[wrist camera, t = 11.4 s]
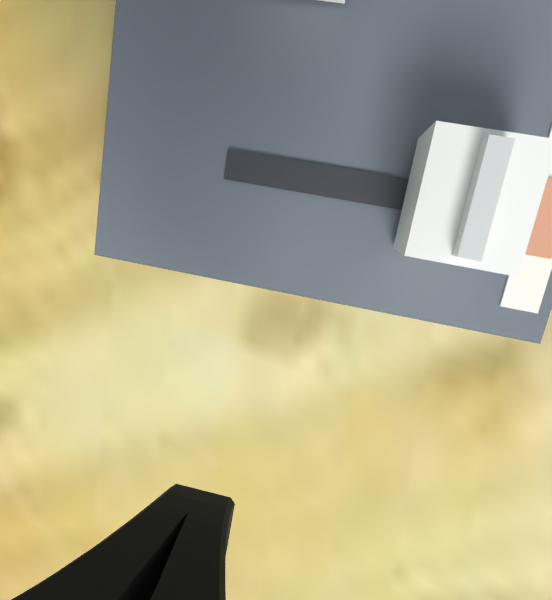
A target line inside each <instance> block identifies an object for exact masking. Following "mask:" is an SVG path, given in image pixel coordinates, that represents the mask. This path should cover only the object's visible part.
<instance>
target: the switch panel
mask: <svg viewBox="0 0 552 600" xmlns="http://www.w3.org/2000/svg"><path fill="white" fill-rule="evenodd" d="M436 121H441V122H448V123H454V124H461V125H468V126H474V127H481V128H487V129H494V130H500V131H507V132H514V133H520V134H527V135H533V136H540V137H546V138H552V0H345V4H343V3H335V2H327V1H319V0H116V9H115V20H114V32H113V44H112V55H111V67H110V79H109V91H108V102H107V114H106V126H105V137H104V149H103V161H102V172H101V184H100V196H99V207H98V219H97V231H96V243H95V254H94V255H98V256H103V257H108V258H113V259H118V260H123V261H128V262H133V263H138V264H143V265H148V266H153V267H158V268H163V269H168V270H173V271H178V272H183V273H188V274H193V275H198V276H203V277H208V278H213V279H218V280H223V281H228V282H233V283H238V284H243V285H248V286H253V287H258V288H263V289H268V290H273V291H278V292H283V293H288V294H293V295H298V296H303V297H308V298H313V299H318V300H323V301H328V302H333V303H338V304H343V305H348V306H353V307H358V308H363V309H368V310H373V311H379V312H384V313H389V314H394V315H399V316H404V317H409V318H414V319H419V320H424V321H429V322H434V323H439V324H444V325H449V326H454V327H459V328H464V329H469V330H474V331H479V332H484V333H489V334H494V335H499V336H504V337H509V338H514V339H519V340H524V341H529V342H534V343H539V344H540V342H541V339H542V336H543V333H544V330H545V327H546V323H547V320H548V317H549V314H550V311H551V308H552V165H551V168H550V172H549V175H548V179H547V182H546V185H545V189H544V192H543V195H542V199H541V202H540V206H539V209H538V212H537V216H536V219H535V223H534V226H533V229H532V233H531V236H530V240H529V243H528V246H527V250H526V253H525V256H524V260H523V263H522V267H521V270H520V273H519V277H516V276H511V275H505V274H500V273H494V272H489V271H484V270H478V269H473V268H467V267H462V266H457V265H451V264H446V263H440V262H435V261H430V260H424V259H419V258H413V257H408V256H404V255H402V254H401V253H400V252H398V251H397V250H395V249H394V248H393V246H394V241H395V237H396V233H397V228H398V224H399V220H400V215H401V211H402V207H403V202H404V198H405V194H406V189H407V185H408V181H409V176H410V172H411V167H412V163H413V159H414V154H415V150H416V146H417V141H418V138H419V137H420V136H421V135H422V134H423V133H424V132H425V131H426V130H427V129H428V128H429V127H430V126H431V125H432V124H433V123H434V122H436Z"/></svg>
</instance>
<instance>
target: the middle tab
mask: <svg viewBox="0 0 552 600" xmlns="http://www.w3.org/2000/svg"><path fill="white" fill-rule="evenodd" d="M319 1H327V2H335V3H343V4H345V0H319Z"/></svg>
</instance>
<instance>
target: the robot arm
mask: <svg viewBox="0 0 552 600" xmlns="http://www.w3.org/2000/svg"><path fill="white" fill-rule="evenodd" d="M234 505H235V504H234V502H233V501H232V499H231V498H230V497H226V496H222V495H218V494H214V493H210V492H206V491H202V490H198V489H194V488H191V487H187V486H183V485H179V484H175V485H174V486H172V487H171V488H169V489H168V490H167V491H166V492H164V493H163V494H162V495H161V496H160V497H158V498H157V499H156V500H155V501H154V502H152V503H151V504H150V505H149V506H147V507H146V508H145V509H144V510H142V511H141V512H140V513H139V514H137V515H136V516H135V517H134V518H132V519H131V520H130V521H128V522H127V523H126V524H124V525H123V526H122V527H120V528H119V529H118V530H116V531H115V532H114V533H112V534H111V535H110V536H108V537H107V538H106V539H104V540H103V541H102V542H100V543H99V544H97V545H96V546H95V547H93V548H92V549H90V550H89V551H87V552H86V553H84V554H83V555H81V556H80V557H78V558H77V559H76V560H74V561H73V562H71V563H70V564H68V565H67V566H65V567H64V568H62V569H61V570H59V571H58V572H56V573H55V574H53V575H52V576H50V577H48V578H47V579H45V580H44V581H42V582H40V583H39V584H37V585H35V586H34V587H32V588H30V589H29V590H27V591H25V592H24V593H22V594H20V595H19V596H17V597H15V598H13V599H12V600H226V597H225V556H226V550H227V545H228V539H229V533H230V528H231V522H232V516H233V510H234Z"/></svg>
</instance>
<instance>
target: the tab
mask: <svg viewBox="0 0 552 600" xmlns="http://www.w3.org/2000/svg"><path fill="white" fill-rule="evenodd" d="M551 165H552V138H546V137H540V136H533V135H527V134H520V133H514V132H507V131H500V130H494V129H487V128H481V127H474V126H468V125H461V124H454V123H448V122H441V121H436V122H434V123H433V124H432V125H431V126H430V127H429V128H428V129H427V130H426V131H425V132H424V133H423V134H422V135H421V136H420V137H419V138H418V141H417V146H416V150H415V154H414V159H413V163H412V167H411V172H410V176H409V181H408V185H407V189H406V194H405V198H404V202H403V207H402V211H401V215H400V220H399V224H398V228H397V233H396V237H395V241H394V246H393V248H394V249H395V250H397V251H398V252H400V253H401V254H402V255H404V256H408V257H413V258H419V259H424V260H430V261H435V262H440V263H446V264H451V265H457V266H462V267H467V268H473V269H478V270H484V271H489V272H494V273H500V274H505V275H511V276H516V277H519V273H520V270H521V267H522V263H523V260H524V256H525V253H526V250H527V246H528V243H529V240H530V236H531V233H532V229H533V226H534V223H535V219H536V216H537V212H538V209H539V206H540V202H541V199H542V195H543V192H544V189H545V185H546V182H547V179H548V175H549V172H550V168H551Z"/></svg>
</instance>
